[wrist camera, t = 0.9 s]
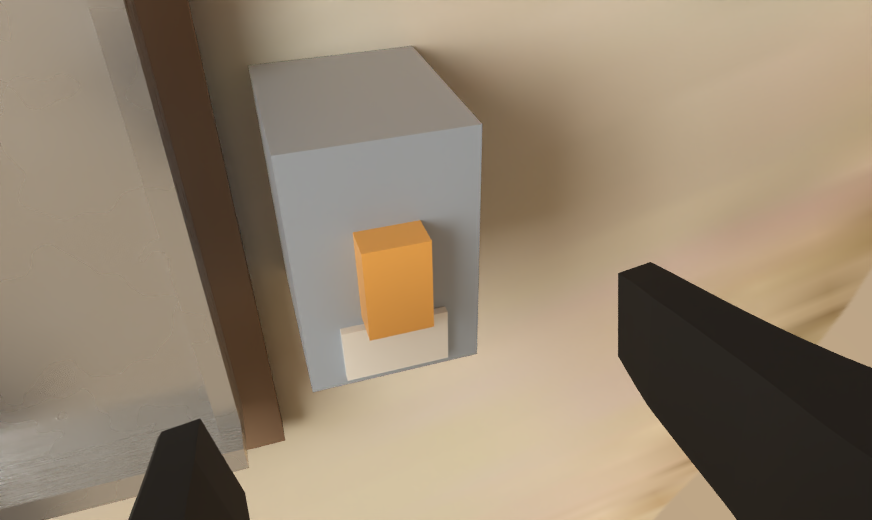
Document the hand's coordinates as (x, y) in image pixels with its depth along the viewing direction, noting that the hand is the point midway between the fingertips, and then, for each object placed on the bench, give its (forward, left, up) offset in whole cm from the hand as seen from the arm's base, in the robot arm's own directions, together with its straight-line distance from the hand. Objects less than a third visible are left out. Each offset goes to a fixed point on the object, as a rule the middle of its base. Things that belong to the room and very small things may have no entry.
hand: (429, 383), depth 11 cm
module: (0, 0, -8) cm, 9 cm away
